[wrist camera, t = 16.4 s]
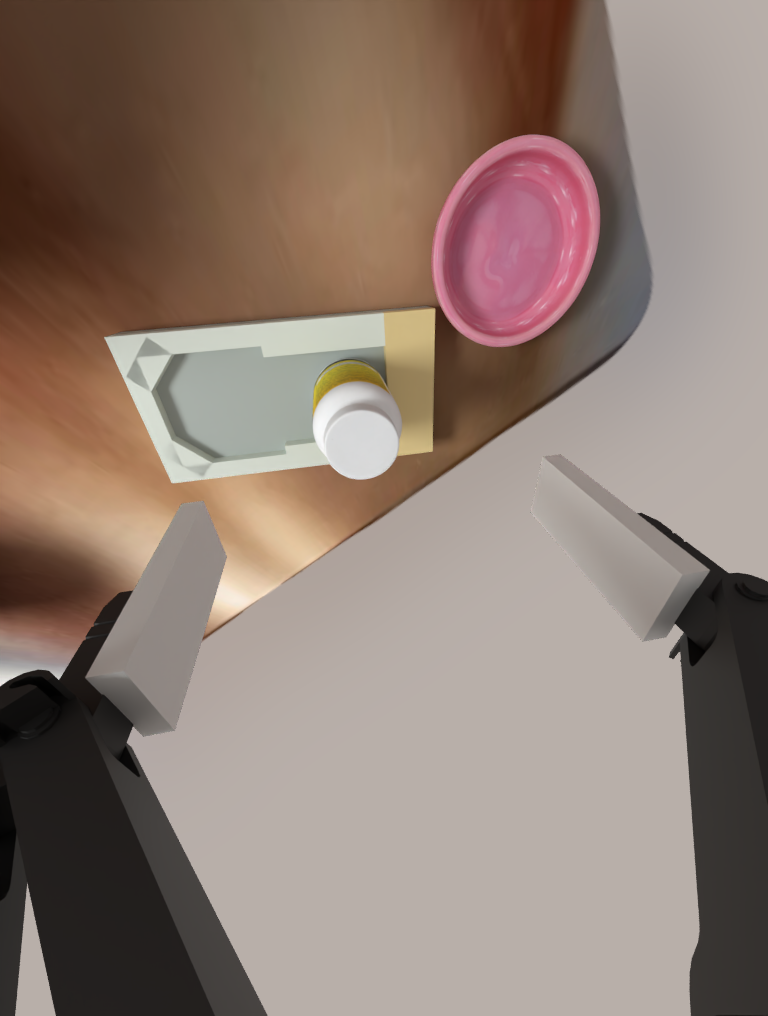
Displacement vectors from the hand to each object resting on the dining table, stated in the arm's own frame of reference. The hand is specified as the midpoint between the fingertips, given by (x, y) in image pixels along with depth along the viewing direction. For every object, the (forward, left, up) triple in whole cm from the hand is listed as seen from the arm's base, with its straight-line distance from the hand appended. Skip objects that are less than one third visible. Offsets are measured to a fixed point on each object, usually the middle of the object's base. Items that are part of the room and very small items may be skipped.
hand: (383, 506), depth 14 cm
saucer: (+13, +8, -22) cm, 26 cm away
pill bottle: (0, -1, -20) cm, 20 cm away
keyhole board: (-5, -1, -21) cm, 22 cm away
